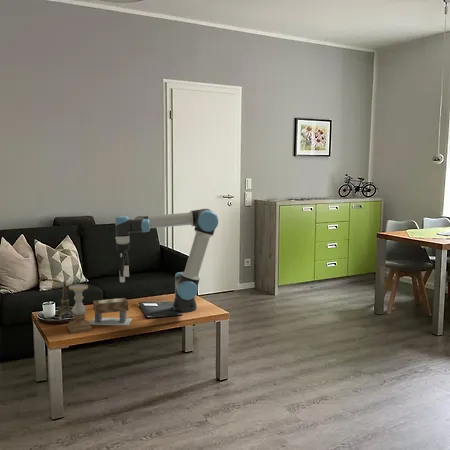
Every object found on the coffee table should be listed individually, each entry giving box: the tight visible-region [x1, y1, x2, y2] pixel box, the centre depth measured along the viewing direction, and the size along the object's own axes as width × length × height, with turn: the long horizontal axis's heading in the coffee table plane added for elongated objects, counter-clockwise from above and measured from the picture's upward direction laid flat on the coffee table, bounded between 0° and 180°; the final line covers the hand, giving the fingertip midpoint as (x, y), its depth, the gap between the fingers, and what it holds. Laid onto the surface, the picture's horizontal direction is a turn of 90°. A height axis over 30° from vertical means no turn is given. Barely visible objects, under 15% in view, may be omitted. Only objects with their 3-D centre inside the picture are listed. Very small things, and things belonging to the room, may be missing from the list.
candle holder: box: [66, 283, 93, 335], centre depth 274 cm, size 11×11×24 cm
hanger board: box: [88, 311, 133, 327], centre depth 288 cm, size 22×11×7 cm, turn 89°
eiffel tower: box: [55, 276, 73, 318], centre depth 296 cm, size 11×11×25 cm
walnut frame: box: [92, 297, 129, 314], centre depth 287 cm, size 18×9×5 cm, turn 113°
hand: (124, 279), depth 294 cm, fingers open, 13 cm apart
